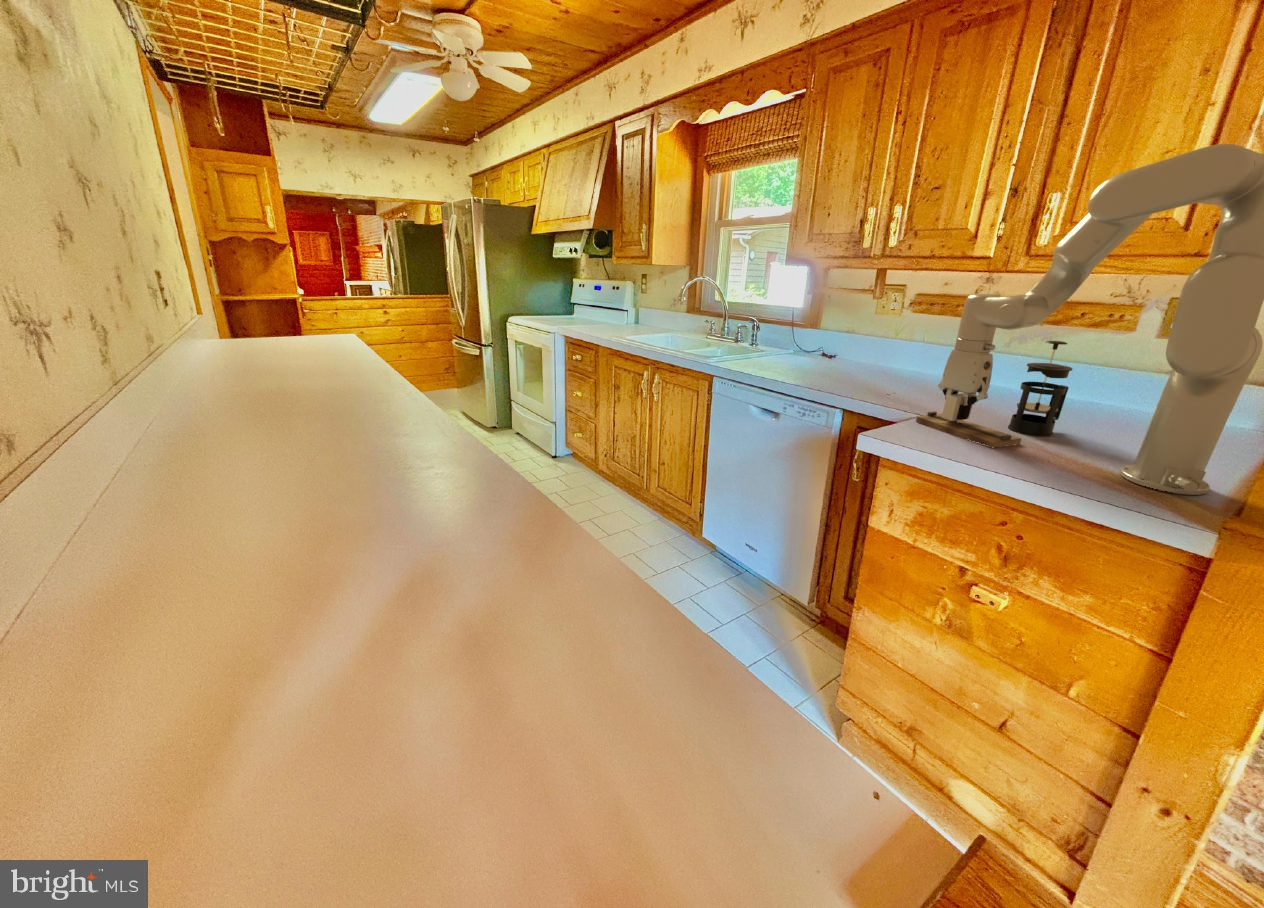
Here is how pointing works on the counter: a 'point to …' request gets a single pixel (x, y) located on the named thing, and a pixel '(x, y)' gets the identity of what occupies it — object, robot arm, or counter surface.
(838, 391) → the counter surface
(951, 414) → the fader cap
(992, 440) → the fader board
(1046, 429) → the french press
